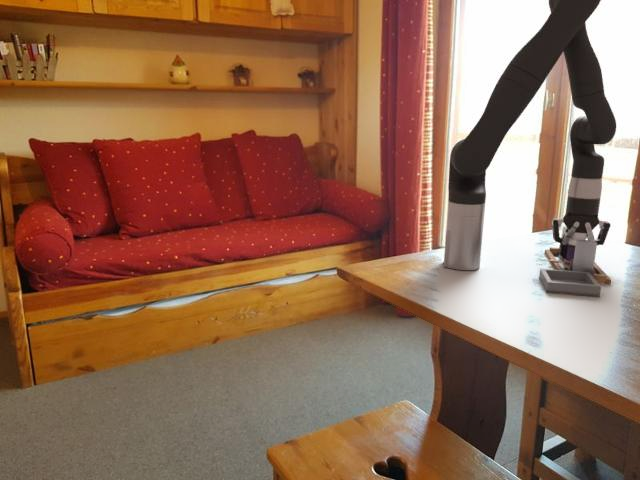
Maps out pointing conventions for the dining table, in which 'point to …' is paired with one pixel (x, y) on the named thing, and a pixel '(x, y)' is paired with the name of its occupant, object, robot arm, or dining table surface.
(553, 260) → the brown wooden flat rack
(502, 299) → the dining table surface
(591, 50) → the robot arm
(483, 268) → the dining table surface
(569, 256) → the pill bottle
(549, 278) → the tray
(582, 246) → the block
